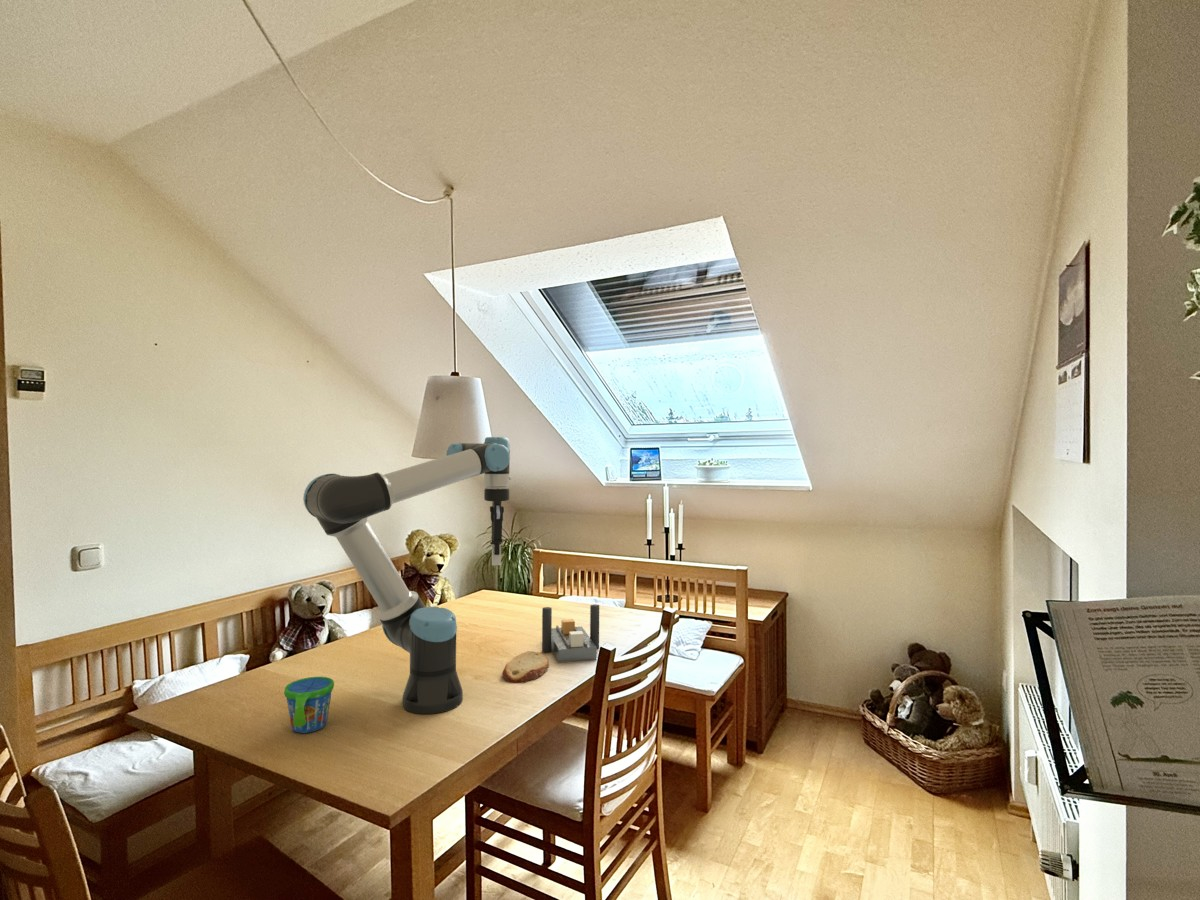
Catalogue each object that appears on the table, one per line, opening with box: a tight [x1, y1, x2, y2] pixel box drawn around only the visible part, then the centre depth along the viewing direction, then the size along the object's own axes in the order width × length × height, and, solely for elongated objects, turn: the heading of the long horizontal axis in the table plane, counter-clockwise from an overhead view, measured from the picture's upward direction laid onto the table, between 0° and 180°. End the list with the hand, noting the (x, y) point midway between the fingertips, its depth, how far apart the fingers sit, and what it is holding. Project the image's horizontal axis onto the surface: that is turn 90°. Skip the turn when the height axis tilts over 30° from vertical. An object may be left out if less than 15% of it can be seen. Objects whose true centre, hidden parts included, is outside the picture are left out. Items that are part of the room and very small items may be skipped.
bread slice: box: [502, 650, 550, 684], centre depth 183 cm, size 18×18×4 cm
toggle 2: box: [569, 631, 584, 647], centre depth 192 cm, size 3×4×4 cm
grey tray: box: [551, 625, 598, 663], centre depth 200 cm, size 22×12×5 cm, turn 14°
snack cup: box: [283, 676, 335, 734], centre depth 144 cm, size 16×10×10 cm
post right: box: [589, 604, 600, 650], centre depth 202 cm, size 3×3×14 cm
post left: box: [541, 606, 553, 654], centre depth 198 cm, size 3×3×14 cm
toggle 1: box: [560, 618, 576, 634], centre depth 205 cm, size 3×4×4 cm
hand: (496, 564), depth 186 cm, fingers closed
